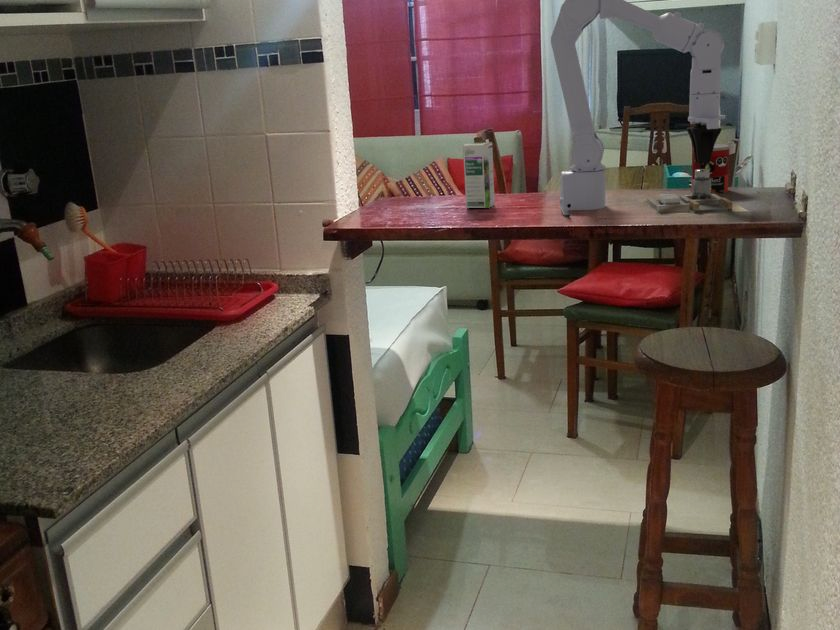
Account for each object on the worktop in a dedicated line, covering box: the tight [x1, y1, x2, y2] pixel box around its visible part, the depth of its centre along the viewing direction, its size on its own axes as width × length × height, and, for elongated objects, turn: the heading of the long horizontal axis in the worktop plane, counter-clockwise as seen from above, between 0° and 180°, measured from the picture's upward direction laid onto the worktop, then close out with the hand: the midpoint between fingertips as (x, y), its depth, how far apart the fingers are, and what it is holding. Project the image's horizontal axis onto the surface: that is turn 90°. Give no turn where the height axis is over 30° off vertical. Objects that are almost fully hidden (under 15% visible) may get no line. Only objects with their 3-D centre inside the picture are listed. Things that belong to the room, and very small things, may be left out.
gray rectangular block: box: [658, 193, 680, 205], centre depth 166 cm, size 3×6×2 cm, turn 175°
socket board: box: [643, 194, 749, 216], centre depth 167 cm, size 17×17×3 cm
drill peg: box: [691, 169, 711, 200], centre depth 167 cm, size 4×4×7 cm
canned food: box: [690, 143, 730, 195], centre depth 181 cm, size 8×8×11 cm
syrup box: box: [462, 141, 496, 209], centre depth 186 cm, size 6×6×14 cm
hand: (702, 162), depth 166 cm, fingers closed
